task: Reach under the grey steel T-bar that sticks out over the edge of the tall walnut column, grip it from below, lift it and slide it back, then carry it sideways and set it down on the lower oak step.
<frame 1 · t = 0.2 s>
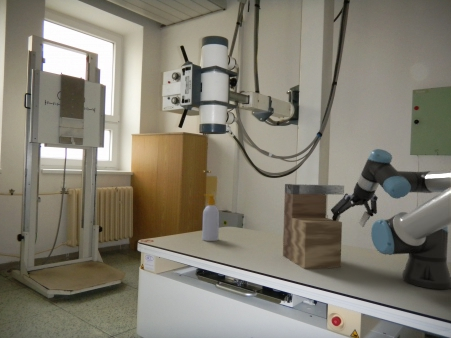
hand: (347, 225, 146), 15 cm above the table, fingers open, 13 cm apart
walnut step stand: (310, 261, 145), on the table
soap bottle: (209, 239, 183), on the table
steel bar: (315, 193, 152), point 28 cm above the table, touching walnut step stand
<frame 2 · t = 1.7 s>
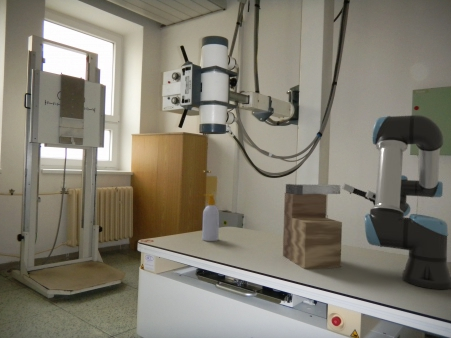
hand: (354, 189, 151), 30 cm above the table, fingers open, 13 cm apart
steel bar: (314, 193, 153), point 28 cm above the table, touching walnut step stand
everything else where it was.
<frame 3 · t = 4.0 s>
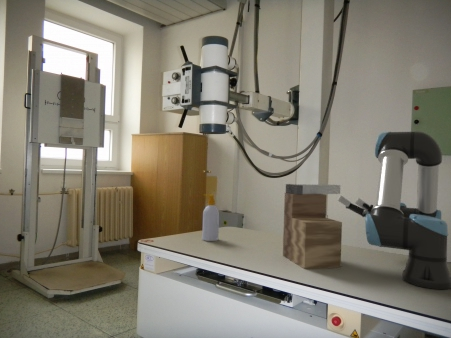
hand: (347, 198, 157), 26 cm above the table, fingers open, 13 cm apart
nothing on the table moved.
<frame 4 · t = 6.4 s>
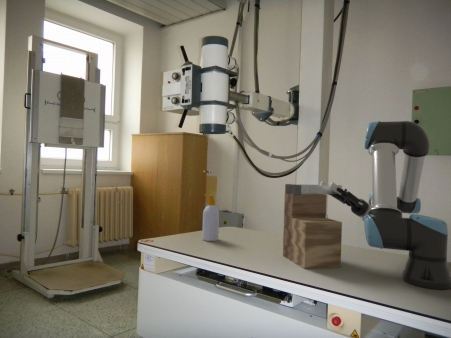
hand: (325, 184, 153), 32 cm above the table, fingers open, 8 cm apart
steel bar: (315, 193, 153), point 28 cm above the table, touching gripper, walnut step stand
everything else where it was.
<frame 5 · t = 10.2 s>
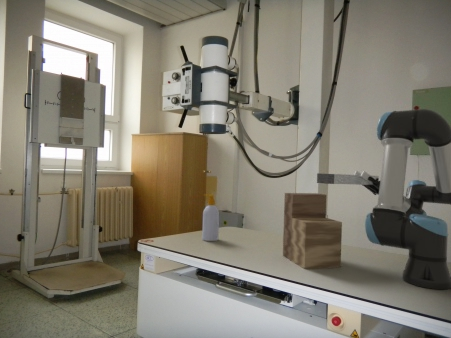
hand: (358, 173, 146), 38 cm above the table, fingers closed on steel bar, 4 cm apart
steel bar: (349, 184, 145), point 33 cm above the table, touching gripper
everything else where it was.
when the fingers open (25 cm above the table, at t = 13.8 s): steel bar drops 2 cm, resting on walnut step stand.
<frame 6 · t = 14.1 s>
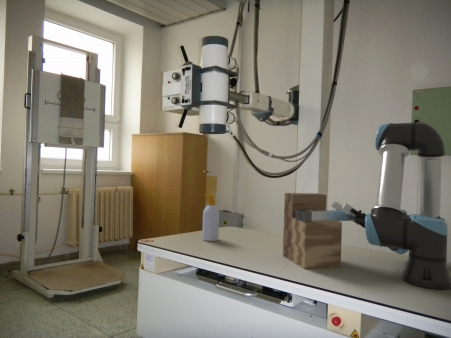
hand: (338, 204, 143), 24 cm above the table, fingers open, 7 cm apart
steel bar: (328, 220, 142), point 18 cm above the table, touching walnut step stand
everything else where it was.
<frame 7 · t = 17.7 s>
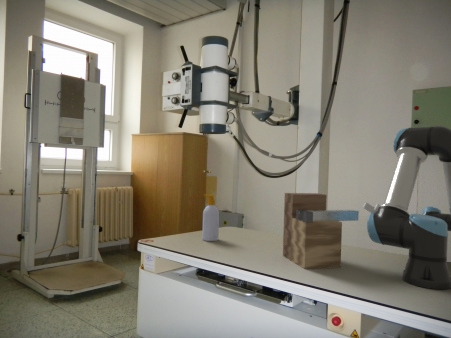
hand: (370, 205, 148), 24 cm above the table, fingers open, 7 cm apart
nothing on the table moved.
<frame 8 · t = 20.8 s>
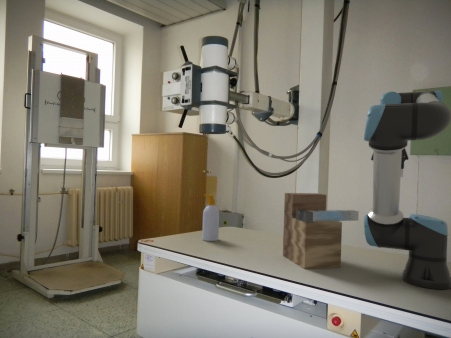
hand: (388, 176, 152), 37 cm above the table, fingers open, 13 cm apart
nothing on the table moved.
at the end: steel bar inside the target area (0.1 cm from its centre), point 18.0 cm above the table; steel bar tilted 0°; the gripper is holding nothing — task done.
